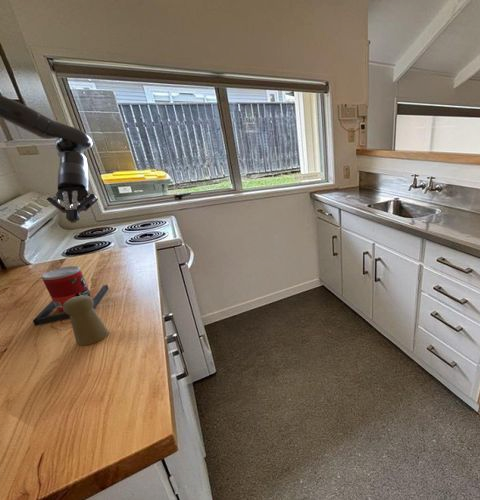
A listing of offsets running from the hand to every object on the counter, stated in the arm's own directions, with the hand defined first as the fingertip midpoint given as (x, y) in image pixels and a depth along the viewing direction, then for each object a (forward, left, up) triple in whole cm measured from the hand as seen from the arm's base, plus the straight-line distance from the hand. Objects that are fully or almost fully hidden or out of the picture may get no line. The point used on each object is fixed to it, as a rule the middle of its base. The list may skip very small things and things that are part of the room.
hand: (73, 221), depth 91 cm
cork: (+10, -41, -21) cm, 47 cm away
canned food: (0, -19, -21) cm, 28 cm away
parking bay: (0, -19, -21) cm, 28 cm away
